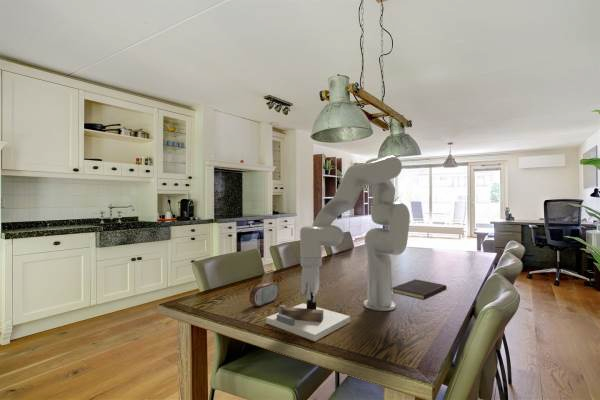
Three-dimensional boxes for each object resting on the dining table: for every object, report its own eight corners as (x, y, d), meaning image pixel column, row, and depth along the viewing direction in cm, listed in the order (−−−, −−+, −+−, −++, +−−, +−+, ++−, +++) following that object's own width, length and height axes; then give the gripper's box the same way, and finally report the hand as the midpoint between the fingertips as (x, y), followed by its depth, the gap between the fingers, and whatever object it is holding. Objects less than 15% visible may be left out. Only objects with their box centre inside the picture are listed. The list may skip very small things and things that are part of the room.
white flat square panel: (303, 308, 126) (303, 298, 126) (350, 322, 111) (350, 310, 111) (266, 323, 111) (266, 311, 111) (315, 341, 96) (315, 328, 96)
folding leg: (277, 317, 110) (277, 307, 110) (280, 314, 113) (280, 304, 113) (321, 322, 106) (321, 311, 106) (323, 318, 109) (323, 308, 109)
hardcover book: (391, 292, 148) (391, 287, 148) (415, 283, 164) (415, 279, 164) (424, 300, 136) (424, 295, 136) (446, 289, 152) (446, 285, 152)
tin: (274, 298, 139) (274, 279, 139) (280, 299, 137) (279, 280, 137) (248, 307, 127) (248, 286, 127) (254, 309, 125) (254, 288, 125)
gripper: (305, 257, 120) (305, 305, 120) (295, 265, 105) (296, 319, 105) (324, 257, 118) (325, 306, 118) (317, 266, 103) (318, 321, 104)
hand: (311, 312), depth 112 cm, fingers closed
